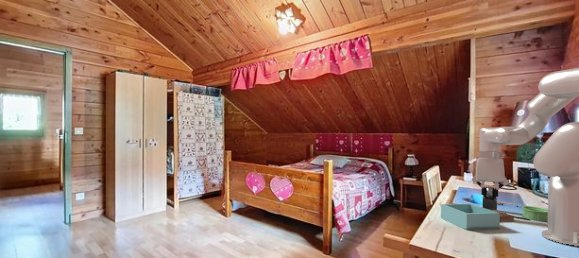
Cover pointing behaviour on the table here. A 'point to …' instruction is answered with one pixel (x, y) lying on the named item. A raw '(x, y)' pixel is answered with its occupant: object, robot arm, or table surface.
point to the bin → (470, 216)
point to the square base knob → (489, 199)
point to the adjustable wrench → (508, 203)
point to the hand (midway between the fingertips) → (489, 197)
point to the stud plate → (504, 216)
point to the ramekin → (535, 213)
